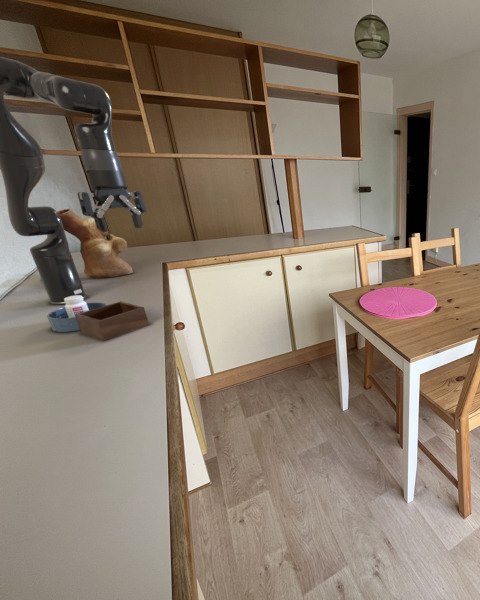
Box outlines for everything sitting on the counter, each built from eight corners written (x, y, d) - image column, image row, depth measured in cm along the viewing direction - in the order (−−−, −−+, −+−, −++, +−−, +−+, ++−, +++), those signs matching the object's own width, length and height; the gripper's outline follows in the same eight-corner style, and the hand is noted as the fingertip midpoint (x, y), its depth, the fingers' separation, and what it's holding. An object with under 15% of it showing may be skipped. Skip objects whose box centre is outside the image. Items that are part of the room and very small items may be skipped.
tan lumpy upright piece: (140, 273, 148) (121, 208, 137) (78, 285, 131) (51, 211, 120) (126, 268, 156) (107, 205, 145) (66, 278, 139) (39, 208, 128)
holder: (81, 333, 92) (74, 314, 90) (126, 318, 102) (120, 301, 100) (105, 340, 88) (98, 321, 86) (149, 324, 98) (144, 307, 96)
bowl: (43, 327, 94) (37, 314, 93) (95, 312, 106) (91, 300, 104) (67, 336, 90) (61, 322, 88) (119, 319, 101) (115, 306, 100)
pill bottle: (79, 326, 95) (69, 300, 92) (67, 324, 96) (57, 299, 93) (96, 320, 100) (87, 295, 97) (84, 318, 100) (75, 294, 97)
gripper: (125, 169, 91) (140, 225, 97) (61, 167, 79) (83, 232, 85) (142, 170, 89) (156, 227, 95) (78, 167, 76) (99, 234, 82)
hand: (122, 229), depth 90 cm, fingers open, 8 cm apart
